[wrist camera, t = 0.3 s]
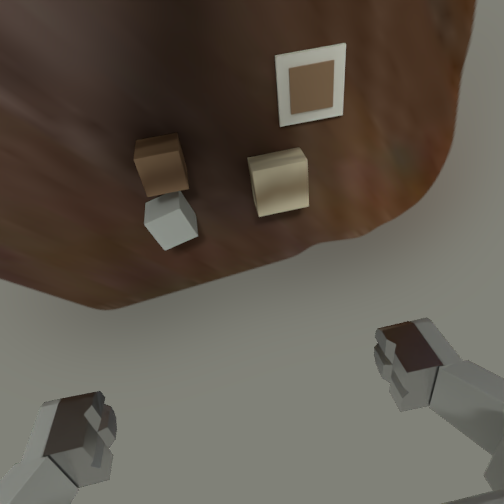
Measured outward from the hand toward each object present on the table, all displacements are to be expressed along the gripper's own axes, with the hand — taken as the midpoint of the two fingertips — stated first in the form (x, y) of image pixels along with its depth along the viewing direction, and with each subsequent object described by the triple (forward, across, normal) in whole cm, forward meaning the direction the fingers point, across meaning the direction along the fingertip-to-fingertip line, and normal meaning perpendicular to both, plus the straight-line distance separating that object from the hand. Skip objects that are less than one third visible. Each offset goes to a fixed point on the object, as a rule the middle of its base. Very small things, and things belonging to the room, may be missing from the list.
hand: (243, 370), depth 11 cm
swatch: (+38, -13, +2) cm, 41 cm away
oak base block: (+40, -8, +12) cm, 43 cm away
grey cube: (+40, +7, +14) cm, 43 cm away
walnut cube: (+39, +6, +6) cm, 40 cm away
